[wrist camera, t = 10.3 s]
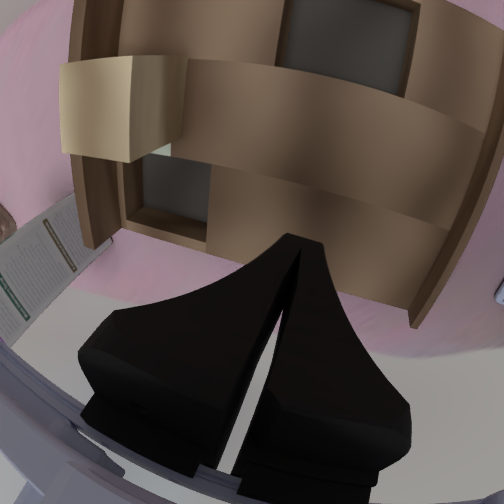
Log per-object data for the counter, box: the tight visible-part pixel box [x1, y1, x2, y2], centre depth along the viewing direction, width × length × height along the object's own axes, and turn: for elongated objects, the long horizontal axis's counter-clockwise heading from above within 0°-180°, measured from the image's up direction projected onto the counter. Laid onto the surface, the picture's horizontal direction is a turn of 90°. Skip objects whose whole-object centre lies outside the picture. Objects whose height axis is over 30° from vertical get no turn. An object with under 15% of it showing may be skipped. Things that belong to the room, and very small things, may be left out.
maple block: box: [59, 55, 188, 163], centre depth 12 cm, size 4×4×4 cm
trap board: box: [68, 0, 504, 329], centre depth 13 cm, size 22×17×6 cm
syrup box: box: [0, 192, 112, 348], centre depth 19 cm, size 6×6×14 cm
